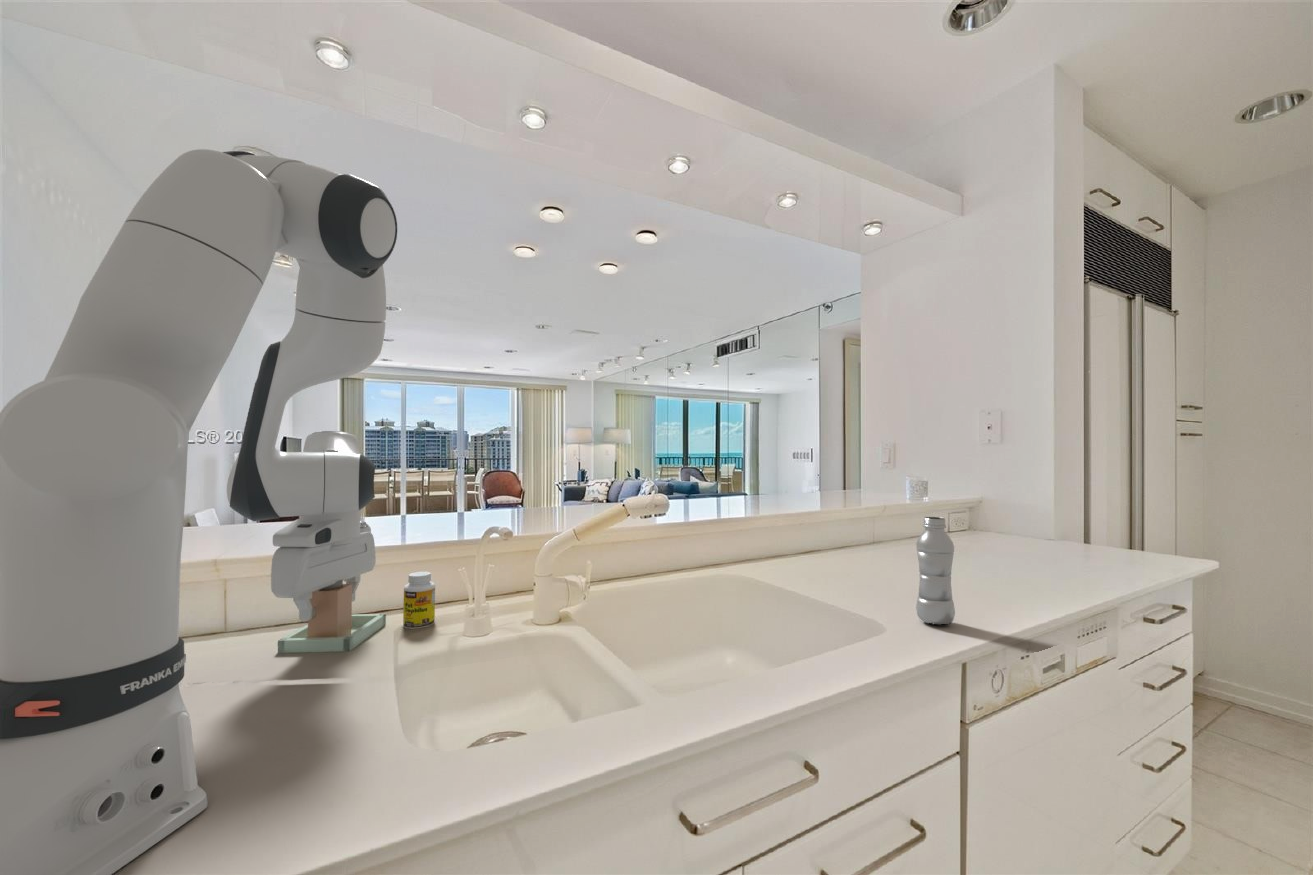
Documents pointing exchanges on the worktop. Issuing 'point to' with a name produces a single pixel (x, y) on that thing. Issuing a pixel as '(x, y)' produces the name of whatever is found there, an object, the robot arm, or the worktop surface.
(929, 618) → the plastic bottle
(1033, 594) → the worktop surface
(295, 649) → the tray
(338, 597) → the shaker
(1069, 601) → the worktop surface
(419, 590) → the supplement bottle
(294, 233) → the robot arm
